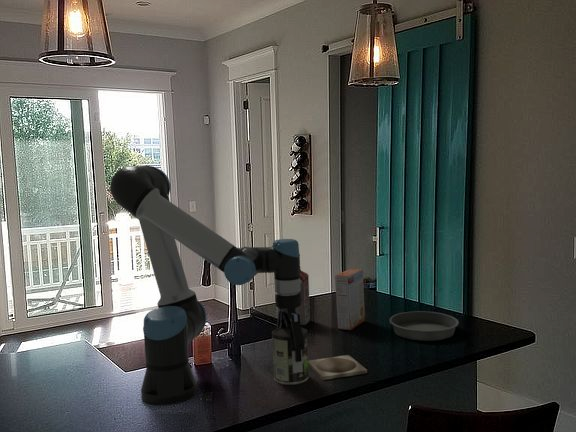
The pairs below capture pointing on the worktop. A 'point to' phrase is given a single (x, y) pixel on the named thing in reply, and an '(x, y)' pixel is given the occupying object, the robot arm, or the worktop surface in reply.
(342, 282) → the cracker box
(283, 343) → the coffee can
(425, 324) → the cake pan
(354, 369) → the rest board
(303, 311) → the juice carton
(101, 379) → the worktop surface
